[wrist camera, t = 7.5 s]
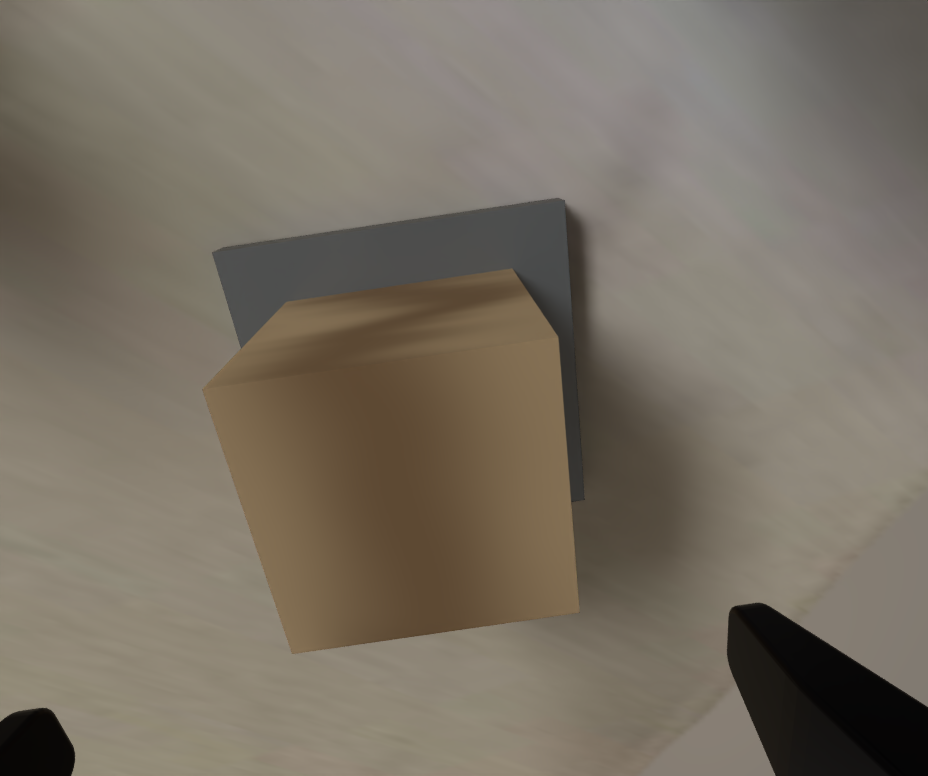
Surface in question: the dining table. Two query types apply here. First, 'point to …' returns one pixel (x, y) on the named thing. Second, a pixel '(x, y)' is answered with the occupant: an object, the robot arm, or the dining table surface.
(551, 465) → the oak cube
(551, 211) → the slate coaster
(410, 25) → the dining table surface
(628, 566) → the dining table surface
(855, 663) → the robot arm
